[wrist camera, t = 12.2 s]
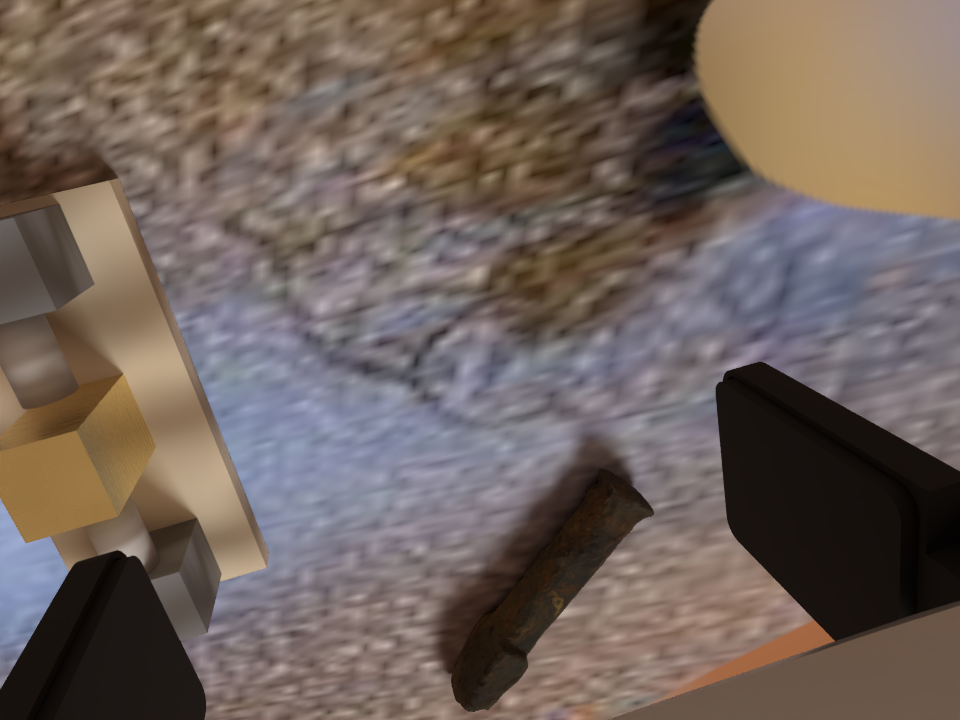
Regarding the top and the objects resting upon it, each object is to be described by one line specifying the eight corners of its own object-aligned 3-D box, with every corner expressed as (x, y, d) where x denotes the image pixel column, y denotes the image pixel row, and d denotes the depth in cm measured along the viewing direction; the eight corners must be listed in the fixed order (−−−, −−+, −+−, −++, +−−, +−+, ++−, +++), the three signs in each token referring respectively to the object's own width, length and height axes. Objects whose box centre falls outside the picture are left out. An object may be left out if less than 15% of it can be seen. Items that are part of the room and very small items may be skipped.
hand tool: (598, 456, 45) (626, 492, 40) (638, 485, 46) (669, 523, 42) (420, 658, 47) (429, 712, 43) (463, 680, 49) (476, 734, 44)
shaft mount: (-96, 227, 32) (-194, 251, 26) (118, 178, 33) (71, 190, 27) (103, 602, 41) (63, 686, 35) (268, 552, 42) (258, 624, 36)
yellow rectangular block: (43, 394, 35) (-23, 457, 28) (123, 373, 35) (76, 430, 28) (80, 467, 36) (25, 542, 30) (156, 446, 37) (118, 516, 30)
